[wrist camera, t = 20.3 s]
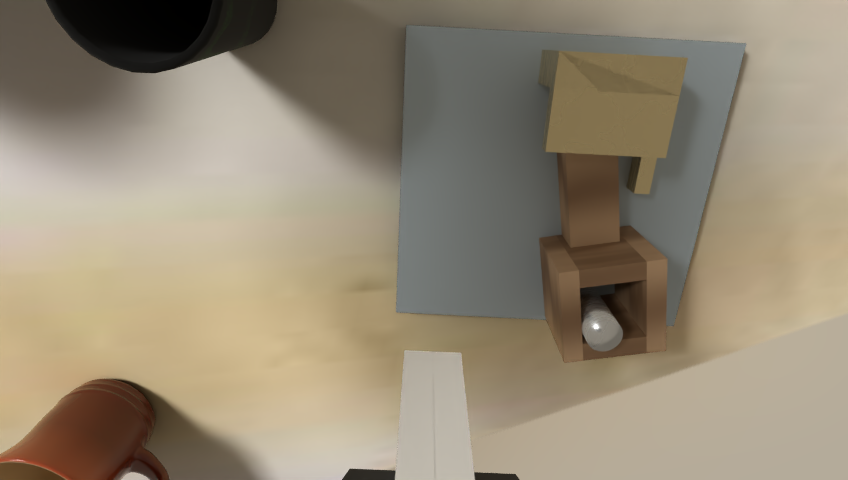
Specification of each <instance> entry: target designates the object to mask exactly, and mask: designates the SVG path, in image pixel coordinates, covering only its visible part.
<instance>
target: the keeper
mask: <svg viewBox="0 0 848 480" xmlns="http://www.w3.org/2000/svg"><path fill="white" fill-rule="evenodd" d="M687 60H688V58H685V57H667V56H649V55H630V54H612V53H594V52H575V51H557V50H542V55H541V63H540V71H539V79H538V83H539V84H542V85H544V86H547V87H550V92H549V99H548V107H547V114H546V122H545V129H544V137H543V144H542V149H543V150H544V151H545V152H558V153H577V154H595V155H614V156H633V157H632V163H631V168H630V173H629V178H628V183H627V189H629V190H630V191H631V192H633V193H635V194H649V193H650V188H651V184H652V179H653V174H654V170H655V165H656V161H657V158H666V155H667V151H668V146H669V142H670V137H671V133H672V128H673V124H674V119H675V114H676V110H677V105H678V101H679V96H680V92H681V87H682V83H683V78H684V74H685V69H686V65H687Z"/></svg>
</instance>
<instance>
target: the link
mask: <svg viewBox="0 0 848 480" xmlns="http://www.w3.org/2000/svg"><path fill="white" fill-rule="evenodd" d="M557 164H558V181H559V198H560V215H561V231H562V235H555V236H548V237H541V238H539V244H540V257H541V270H542V284H543V297H544V310H545V318H546V320H547V322H548V325H549V327H550V329H551V332H552V334H553V337H554V339H555V341H556V344H557V346H558V348H559V351H560V353H561V356H562V358H563V360H564V363H566V362H574V361H583V360H591V359H599V358H608V357H616V356H625V355H633V354H641V353H650V352H658V351H666V312H667V258H666V257H665V256H664V255H663V254H662V253H661V252H659V251H658V250H657V249H656V248H655V247H654V246H653V245H652V244H651V243H650V242H648V241H647V240H646V239H645V238H644V237H643V236H642V235H641V234H640V233H639V232H637V231H636V230H635V229H634V228H633V227H632V226H631V225H629V226H622V227H619V168H618V156H614V155H595V154H577V153H558V152H557ZM609 284H614V286H615V293H613V294H606V295H600V297H601V298H602V299H603V301H604V302H605V304H606V305H607V307H608V308H609V310H610V311H611V313H612V314H613V316H614V317H615V319H616V320H617V322H618V323H619V325H620V326H621V328H622V330H623V337H622V340H621V342H620V343H619V344H618V345H617V346H616V347H615V348H613V349H611V350H609V351H597V350H594V349H592V348H591V347H590V346H589V345H588V343H587V341H586V339H585V337H584V335H583V333H582V324H581V303H580V288H586V287H594V286H601V285H609Z"/></svg>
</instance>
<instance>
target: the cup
mask: <svg viewBox="0 0 848 480" xmlns="http://www.w3.org/2000/svg"><path fill="white" fill-rule="evenodd" d="M46 2H47V4H48V6H49V8H50V9H51V11H52V13H53V15H54V17H55V19H56V20H57V21H58V23H59V24H60V25H61V26H62V27H63V29H64V30H65V31H66V32H67V34H68V35H69V36H70V37H71V38H72V39H73V40H74V41H75V42H76V43H77V44H79V45H80V46H81V47H82V48H83V49H85V50H86V51H87V52H88V53H89V54H91V55H92V56H94V57H96V58H98V59H99V60H101V61H103V62H105V63H107V64H109V65H111V66H113V67H116V68H120V69H123V70H127V71H130V72H137V73H158V72H162V71H166V70H171V69H175V68H178V67H181V66H184V65H187V64H190V63H193V62H197V61H200V60H203V59H206V58H209V57H212V56H215V55H218V54H221V53H224V52H227V51H230V50H234V49H237V48H240V47H243V46H246V45H249V44H252V43H254V42H256V41H257V40H259V39H261V38H262V37H263V36H264V35H265V34H266V33H267V32H268V31H269V29H270V27H271V26H272V24H273V22H274V18H275V15H276V9H277V0H46Z"/></svg>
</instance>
